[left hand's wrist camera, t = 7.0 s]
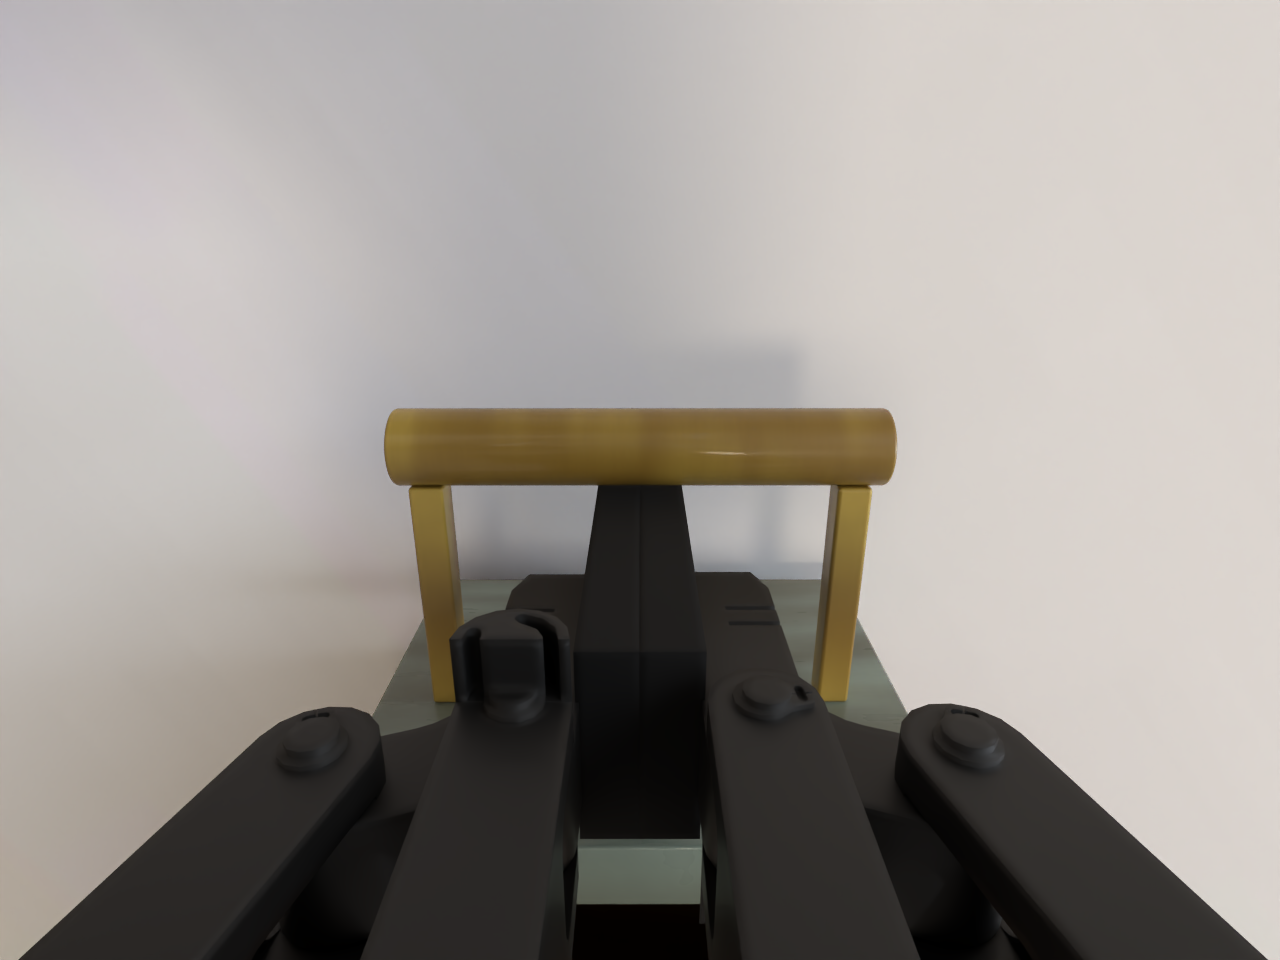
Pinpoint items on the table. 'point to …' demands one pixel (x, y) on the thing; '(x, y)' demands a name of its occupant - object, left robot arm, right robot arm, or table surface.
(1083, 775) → the table surface
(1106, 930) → the left robot arm
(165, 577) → the table surface
